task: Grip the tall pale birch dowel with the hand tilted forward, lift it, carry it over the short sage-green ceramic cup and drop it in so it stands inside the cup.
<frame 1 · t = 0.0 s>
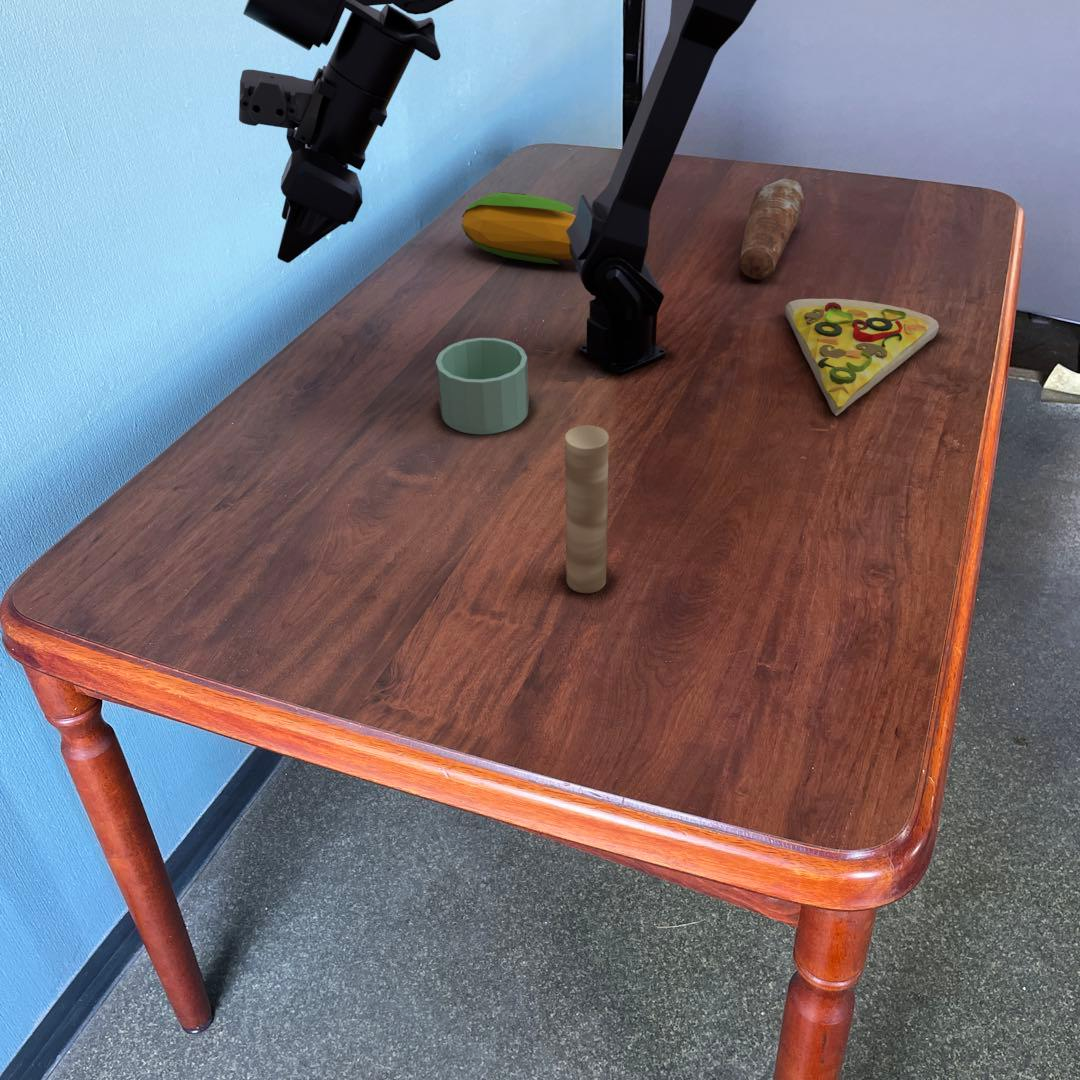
hand: (284, 239, 96), 15 cm above the table, tool tilted 35°, fingers open, 9 cm apart
pizza slice: (848, 366, 106), on the table
bread: (770, 253, 128), on the table
cup: (484, 410, 101), on the table
dowel: (586, 580, 81), on the table
corn: (542, 259, 128), on the table
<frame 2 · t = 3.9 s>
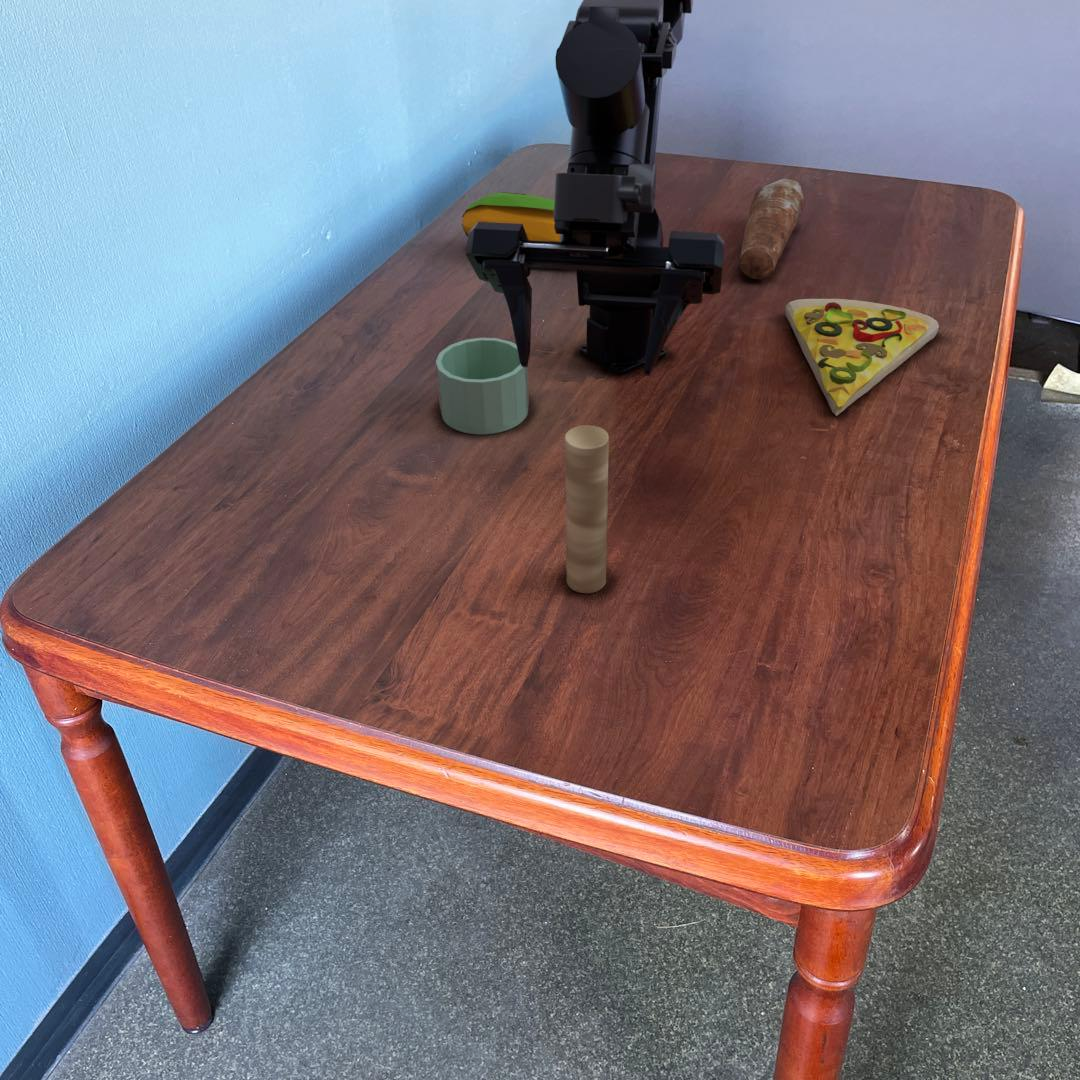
hand: (584, 370, 79), 14 cm above the table, tool tilted 45°, fingers open, 9 cm apart
nothing on the table moved.
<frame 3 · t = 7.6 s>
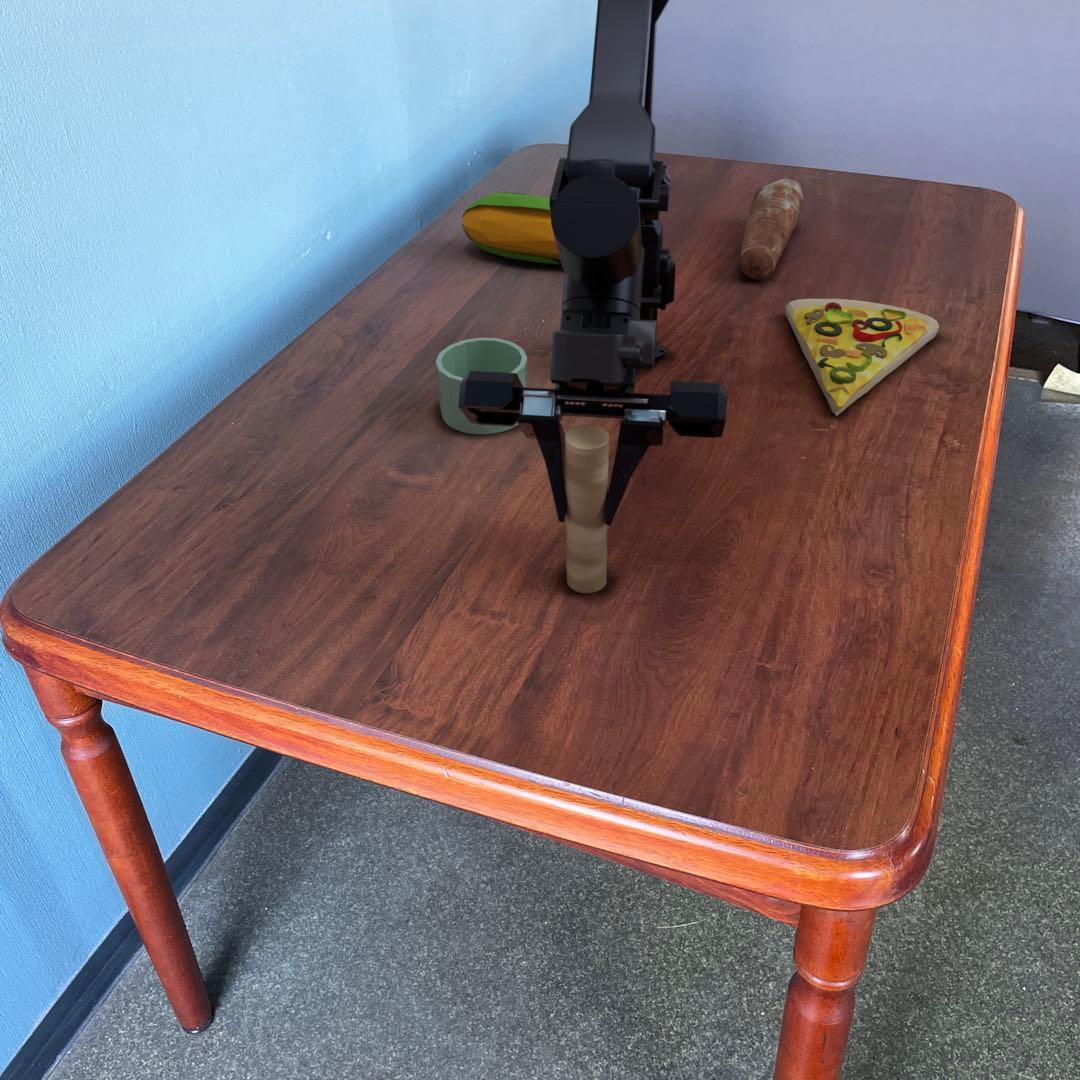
hand: (584, 523, 76), 7 cm above the table, tool tilted 45°, fingers closed on dowel, 3 cm apart
dowel: (586, 580, 81), on the table, touching gripper
everything else where it was.
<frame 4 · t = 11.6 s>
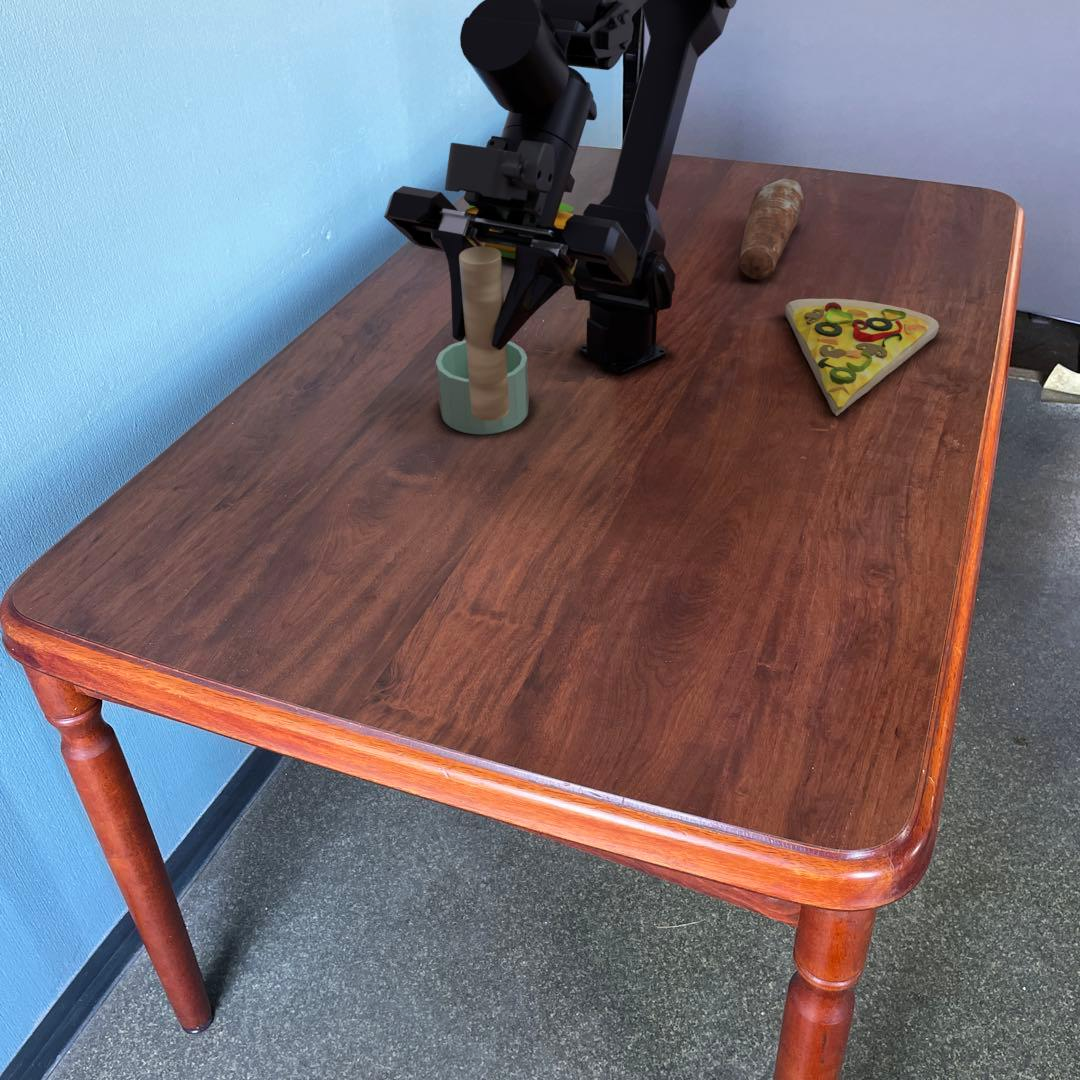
hand: (476, 343, 79), 15 cm above the table, tool tilted 45°, fingers closed on dowel, 3 cm apart
dowel: (490, 410, 85), point 9 cm above the table, touching gripper
everything else where it was.
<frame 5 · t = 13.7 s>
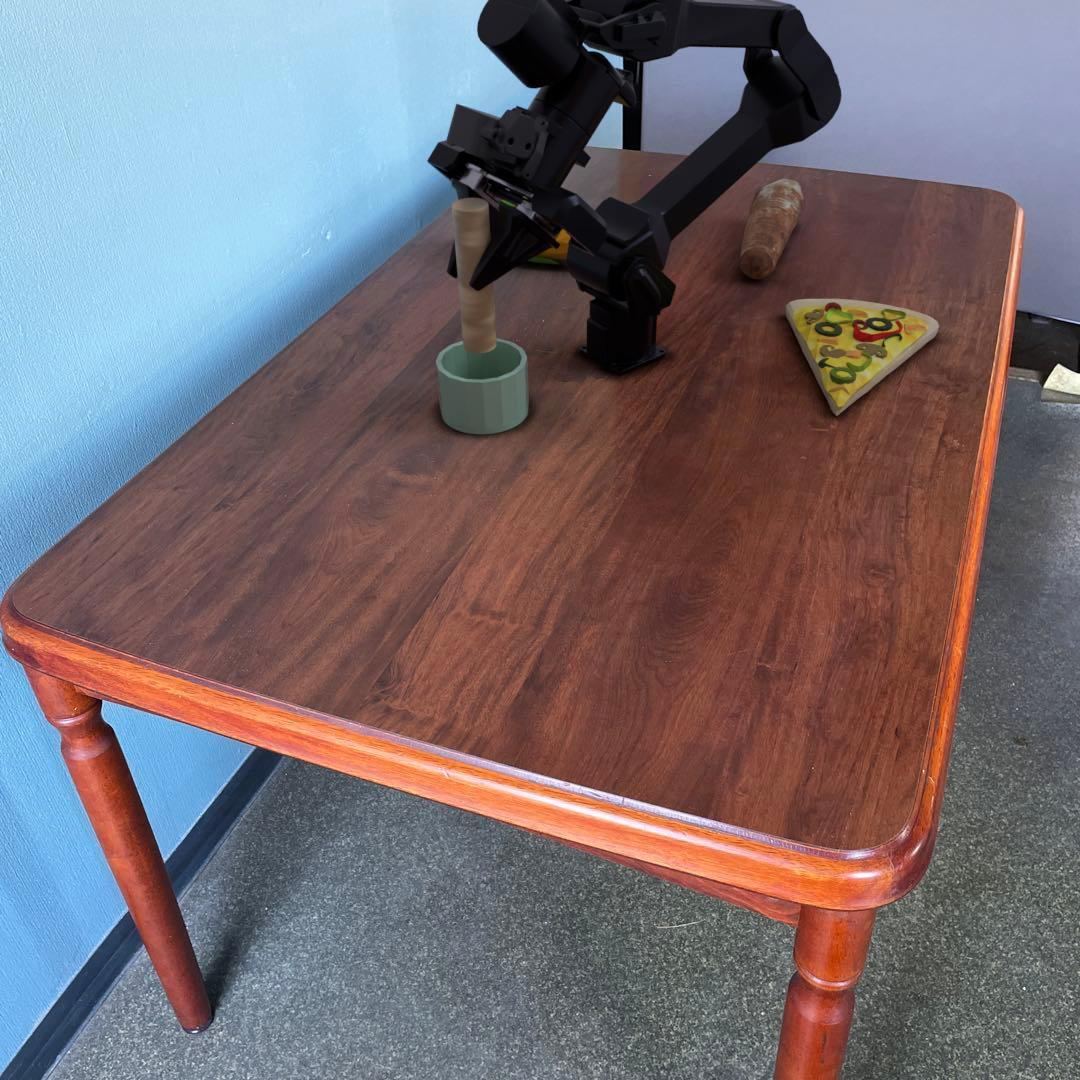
hand: (461, 281, 92), 14 cm above the table, tool tilted 45°, fingers closed on dowel, 3 cm apart
dowel: (479, 345, 96), point 7 cm above the table, touching gripper
everything else where it was.
when the fingers open (10 cm above the table, at t = 15.5 s): dowel drops 2 cm, resting on cup.
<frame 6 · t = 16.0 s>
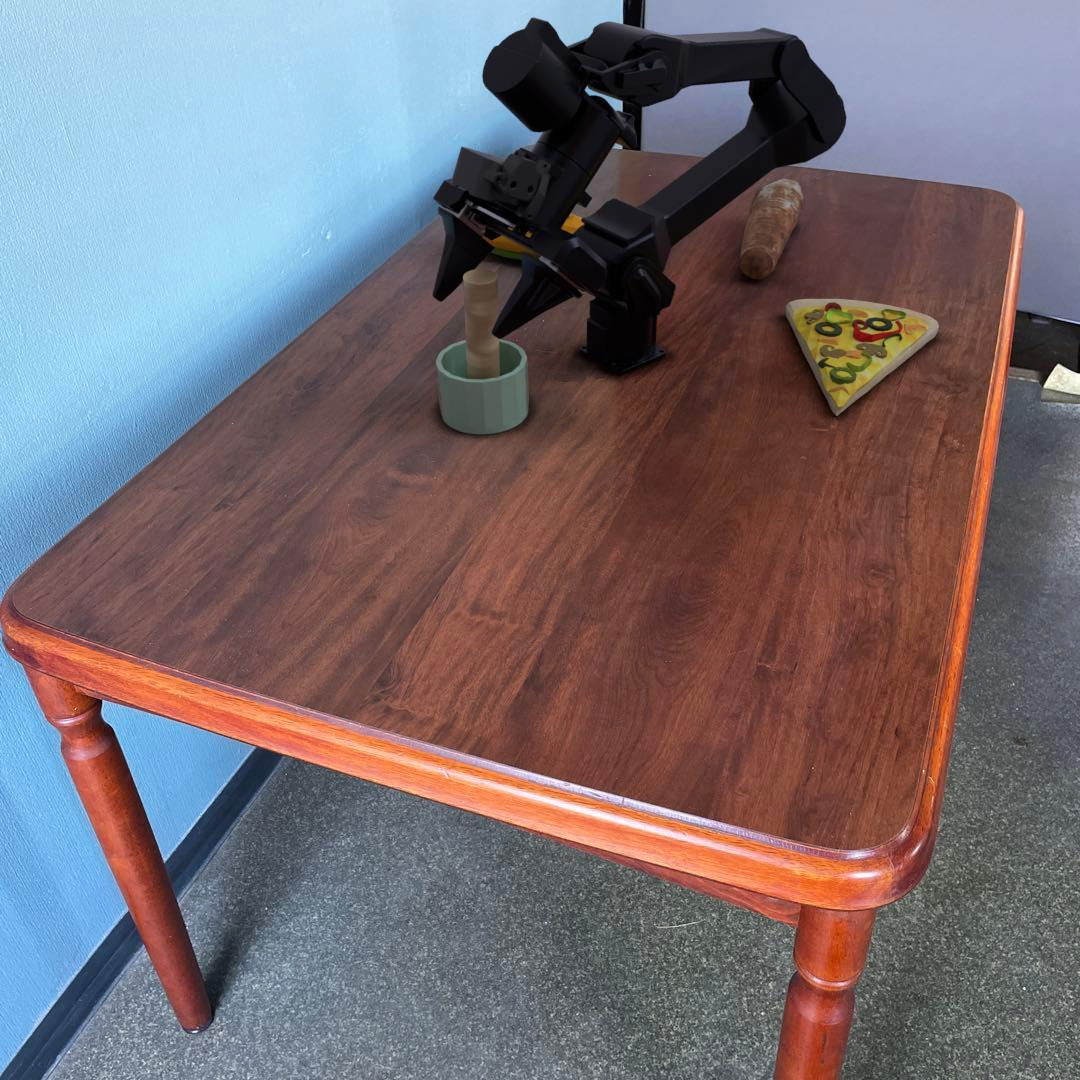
hand: (465, 317, 94), 10 cm above the table, tool tilted 45°, fingers open, 9 cm apart
dowel: (484, 404, 101), point 1 cm above the table, touching cup
everything else where it was.
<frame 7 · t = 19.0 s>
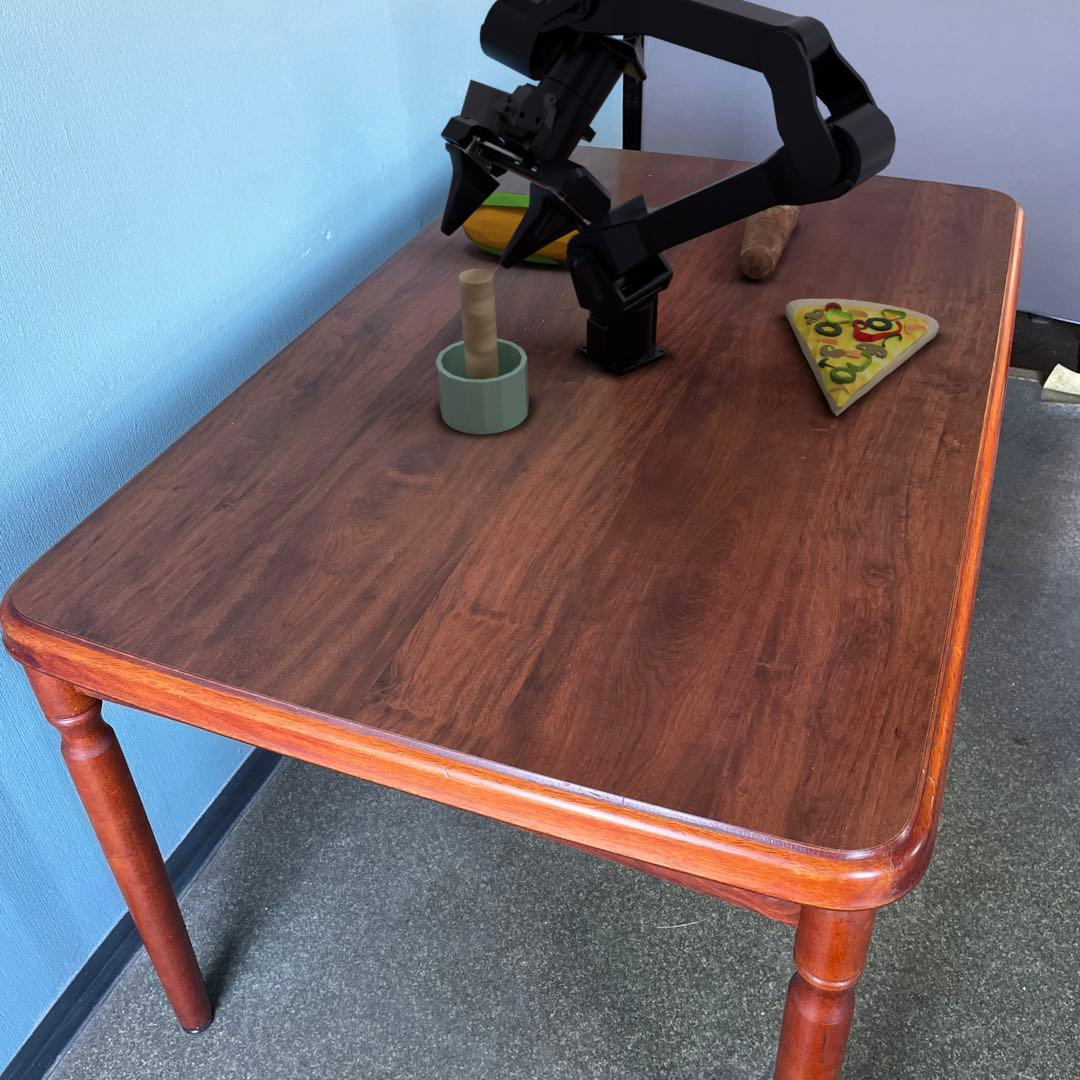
hand: (472, 249, 97), 14 cm above the table, tool tilted 45°, fingers open, 9 cm apart
nothing on the table moved.
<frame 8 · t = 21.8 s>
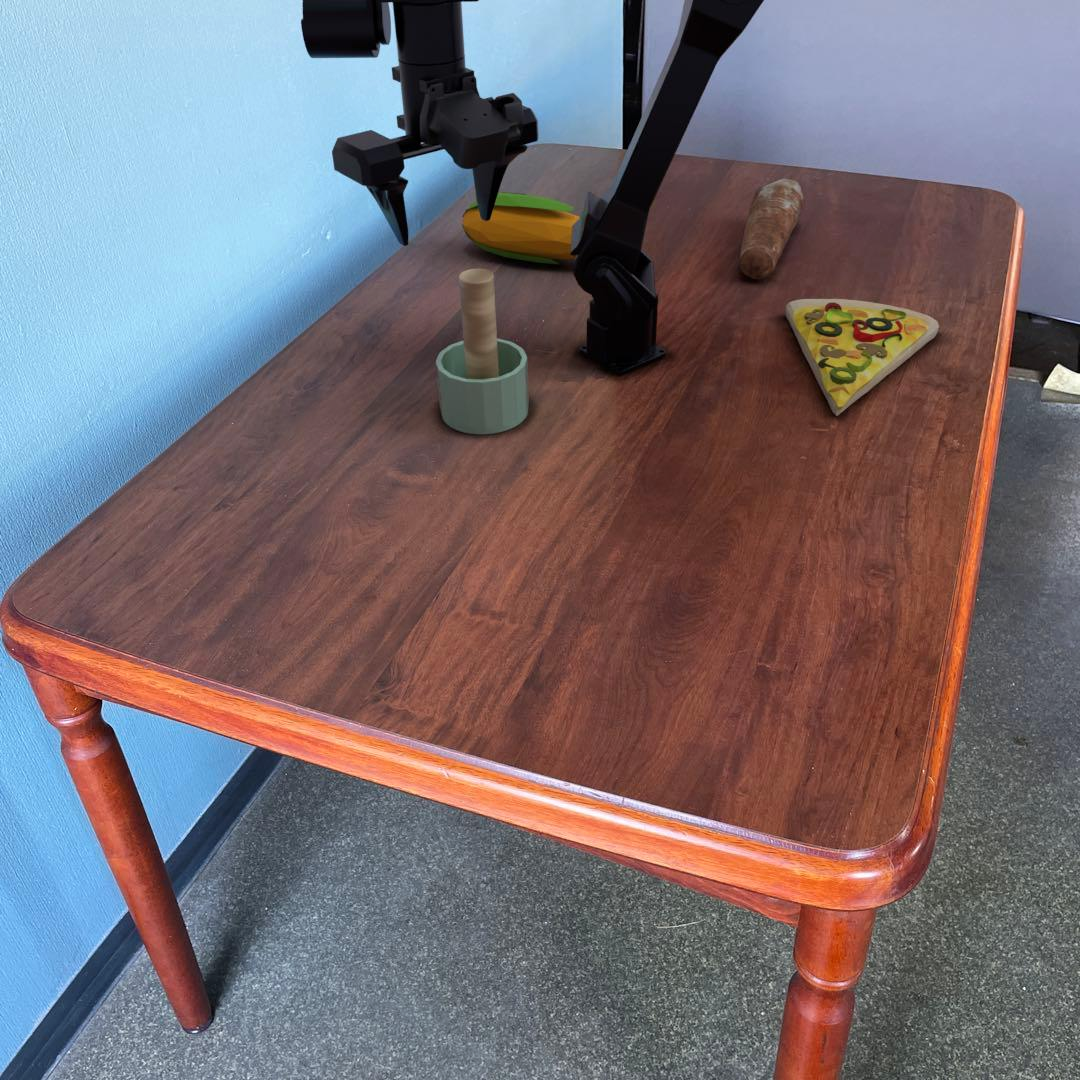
hand: (445, 231, 102), 13 cm above the table, tool pointing down, fingers open, 9 cm apart
nothing on the table moved.
at the end: dowel inside the target area in the cup (0.0 cm from its centre), point 0.6 cm above the cup's base; the gripper is holding nothing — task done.
